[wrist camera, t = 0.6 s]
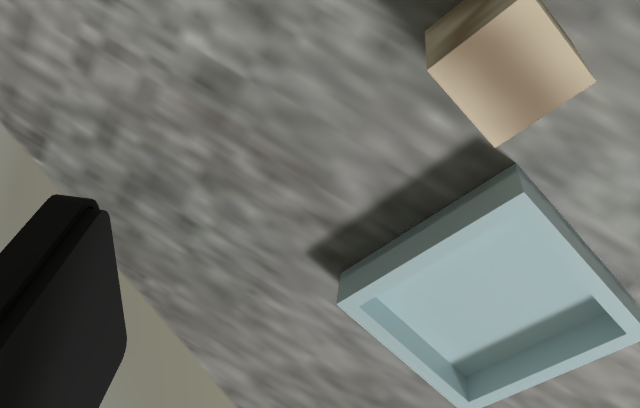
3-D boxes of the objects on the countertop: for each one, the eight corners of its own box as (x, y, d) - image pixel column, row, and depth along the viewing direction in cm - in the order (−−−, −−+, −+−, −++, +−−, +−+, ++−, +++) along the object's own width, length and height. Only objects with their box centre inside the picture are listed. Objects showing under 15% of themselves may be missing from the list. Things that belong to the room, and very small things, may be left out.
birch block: (511, -40, 33) (529, -10, 28) (570, 39, 35) (596, 81, 30) (424, 30, 36) (427, 70, 31) (483, 100, 38) (494, 148, 33)
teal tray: (515, 162, 40) (523, 191, 37) (636, 301, 46) (651, 336, 43) (340, 273, 47) (336, 304, 45) (462, 380, 53) (465, 414, 50)
